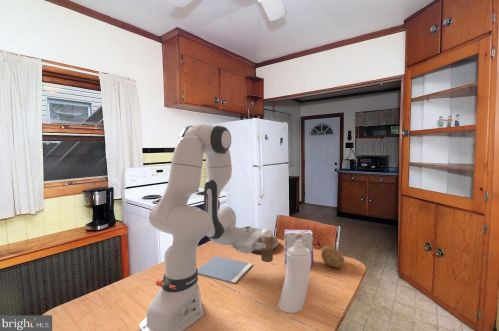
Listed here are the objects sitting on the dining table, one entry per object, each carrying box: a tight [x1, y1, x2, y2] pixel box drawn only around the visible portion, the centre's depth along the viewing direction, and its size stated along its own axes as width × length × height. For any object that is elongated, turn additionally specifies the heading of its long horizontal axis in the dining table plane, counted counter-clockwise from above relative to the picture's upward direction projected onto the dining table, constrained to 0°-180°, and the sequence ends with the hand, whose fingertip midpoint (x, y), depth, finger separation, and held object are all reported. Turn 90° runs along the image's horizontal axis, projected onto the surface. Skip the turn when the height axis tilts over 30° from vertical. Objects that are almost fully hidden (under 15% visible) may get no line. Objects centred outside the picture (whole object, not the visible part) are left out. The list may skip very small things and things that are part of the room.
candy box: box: [284, 229, 314, 266], centre depth 124 cm, size 14×6×16 cm, turn 84°
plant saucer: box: [251, 236, 279, 254], centre depth 145 cm, size 21×21×3 cm
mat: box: [197, 255, 254, 285], centre depth 119 cm, size 18×22×1 cm
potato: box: [320, 245, 345, 269], centre depth 121 cm, size 10×14×8 cm
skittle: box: [260, 227, 274, 263], centre depth 108 cm, size 5×5×14 cm
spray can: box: [277, 240, 312, 314], centre depth 92 cm, size 12×11×25 cm
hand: (268, 243), depth 108 cm, fingers closed on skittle, 5 cm apart
